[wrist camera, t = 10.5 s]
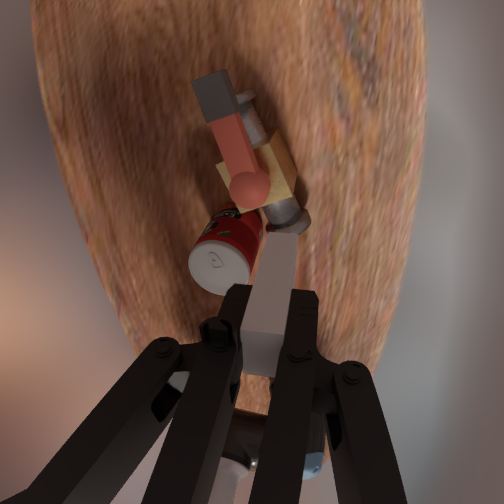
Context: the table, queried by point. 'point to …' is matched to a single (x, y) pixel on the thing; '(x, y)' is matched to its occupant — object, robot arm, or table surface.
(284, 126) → the table surface
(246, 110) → the valve pipe
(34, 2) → the table surface
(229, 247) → the canned food
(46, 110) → the table surface
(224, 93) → the lever
